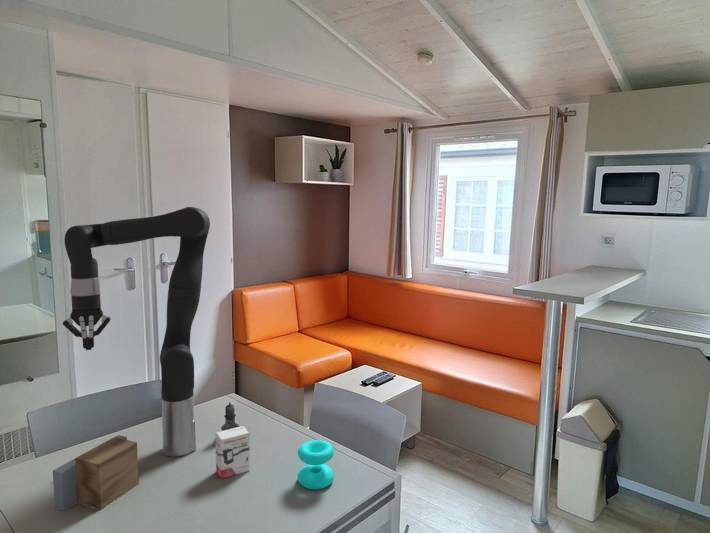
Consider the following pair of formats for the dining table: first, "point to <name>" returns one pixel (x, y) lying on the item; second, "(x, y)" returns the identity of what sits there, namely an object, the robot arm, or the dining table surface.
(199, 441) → the dining table surface
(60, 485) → the slate board
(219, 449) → the ink box
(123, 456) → the walnut block
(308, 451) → the turquoise spool
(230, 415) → the dark grey figurine
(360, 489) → the dining table surface
